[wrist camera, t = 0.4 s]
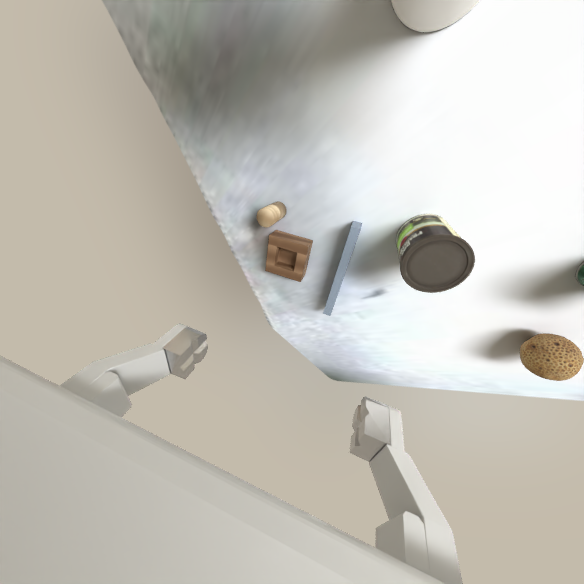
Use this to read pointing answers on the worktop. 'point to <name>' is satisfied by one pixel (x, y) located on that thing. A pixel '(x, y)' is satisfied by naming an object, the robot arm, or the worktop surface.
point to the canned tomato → (580, 274)
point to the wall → (342, 266)
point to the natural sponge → (551, 357)
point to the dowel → (271, 214)
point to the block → (288, 255)
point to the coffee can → (433, 254)
